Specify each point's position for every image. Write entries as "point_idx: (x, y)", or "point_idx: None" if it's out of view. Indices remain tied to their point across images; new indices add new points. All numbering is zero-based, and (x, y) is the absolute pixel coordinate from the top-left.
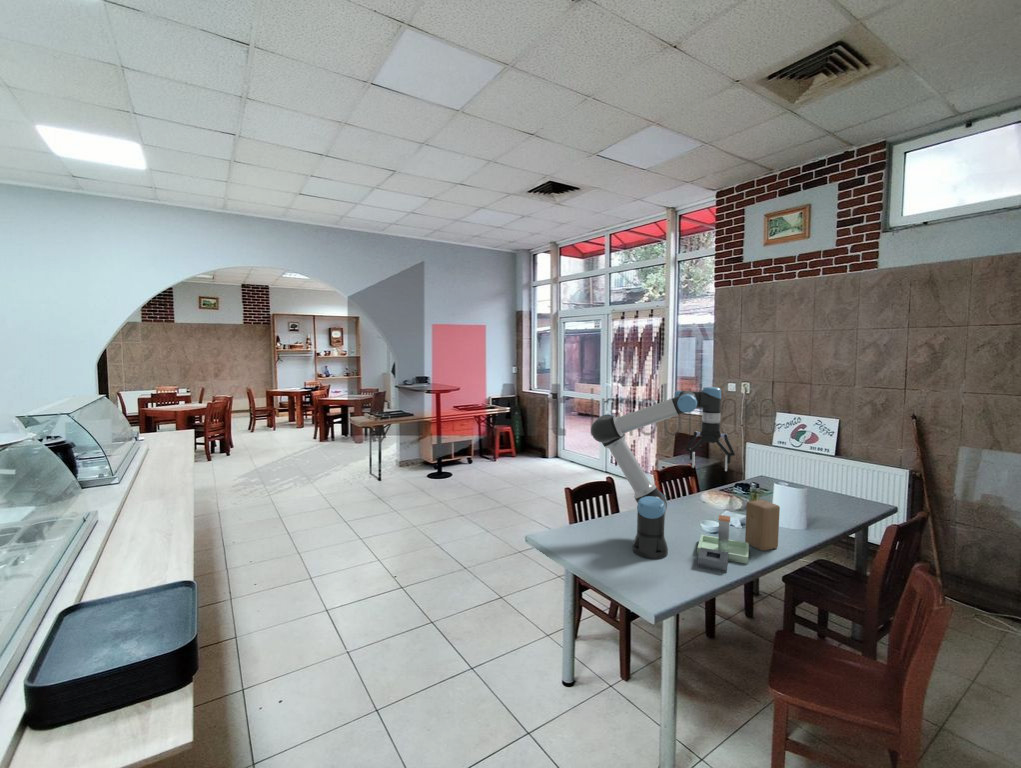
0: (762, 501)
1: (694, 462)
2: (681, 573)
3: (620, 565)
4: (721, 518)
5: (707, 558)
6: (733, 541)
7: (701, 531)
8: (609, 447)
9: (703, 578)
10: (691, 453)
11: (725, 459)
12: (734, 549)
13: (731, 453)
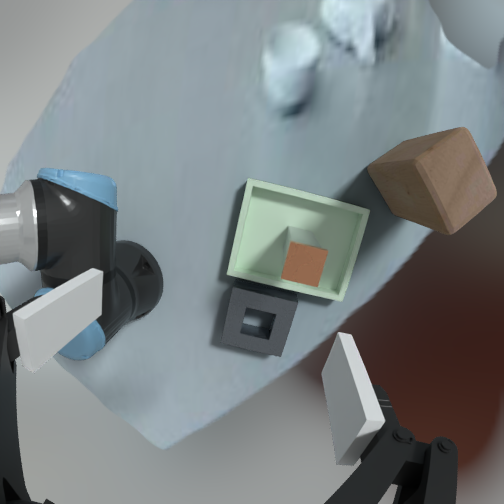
0: (465, 156)
1: (85, 286)
2: (192, 362)
3: None
4: (291, 279)
5: (241, 343)
6: (331, 205)
7: (259, 108)
8: None
9: (231, 373)
10: (17, 347)
11: (334, 442)
12: (327, 229)
13: (397, 491)
